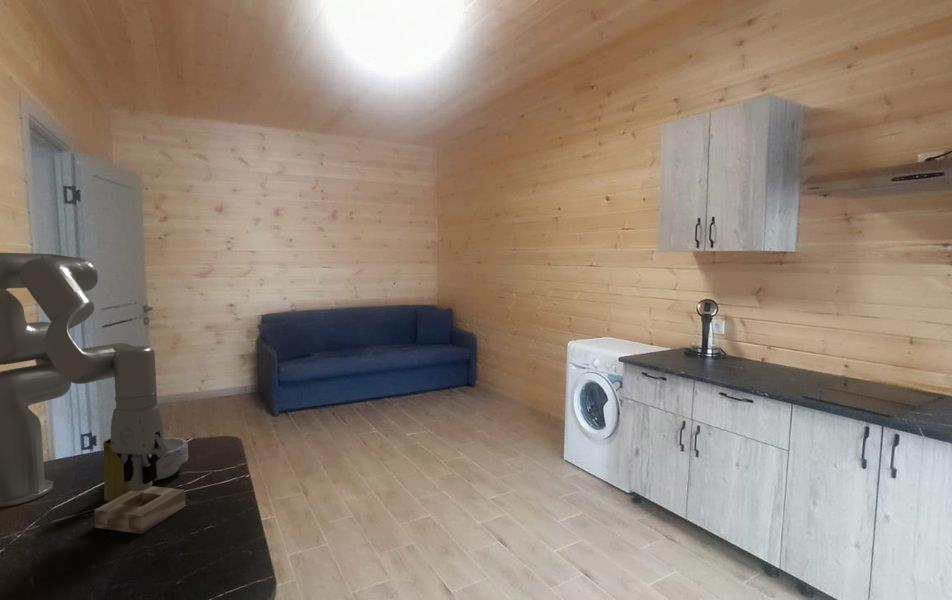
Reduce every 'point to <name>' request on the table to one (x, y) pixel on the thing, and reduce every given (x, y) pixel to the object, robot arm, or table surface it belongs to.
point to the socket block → (139, 509)
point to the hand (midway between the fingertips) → (140, 479)
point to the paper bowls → (172, 457)
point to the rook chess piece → (138, 475)
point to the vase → (113, 474)
